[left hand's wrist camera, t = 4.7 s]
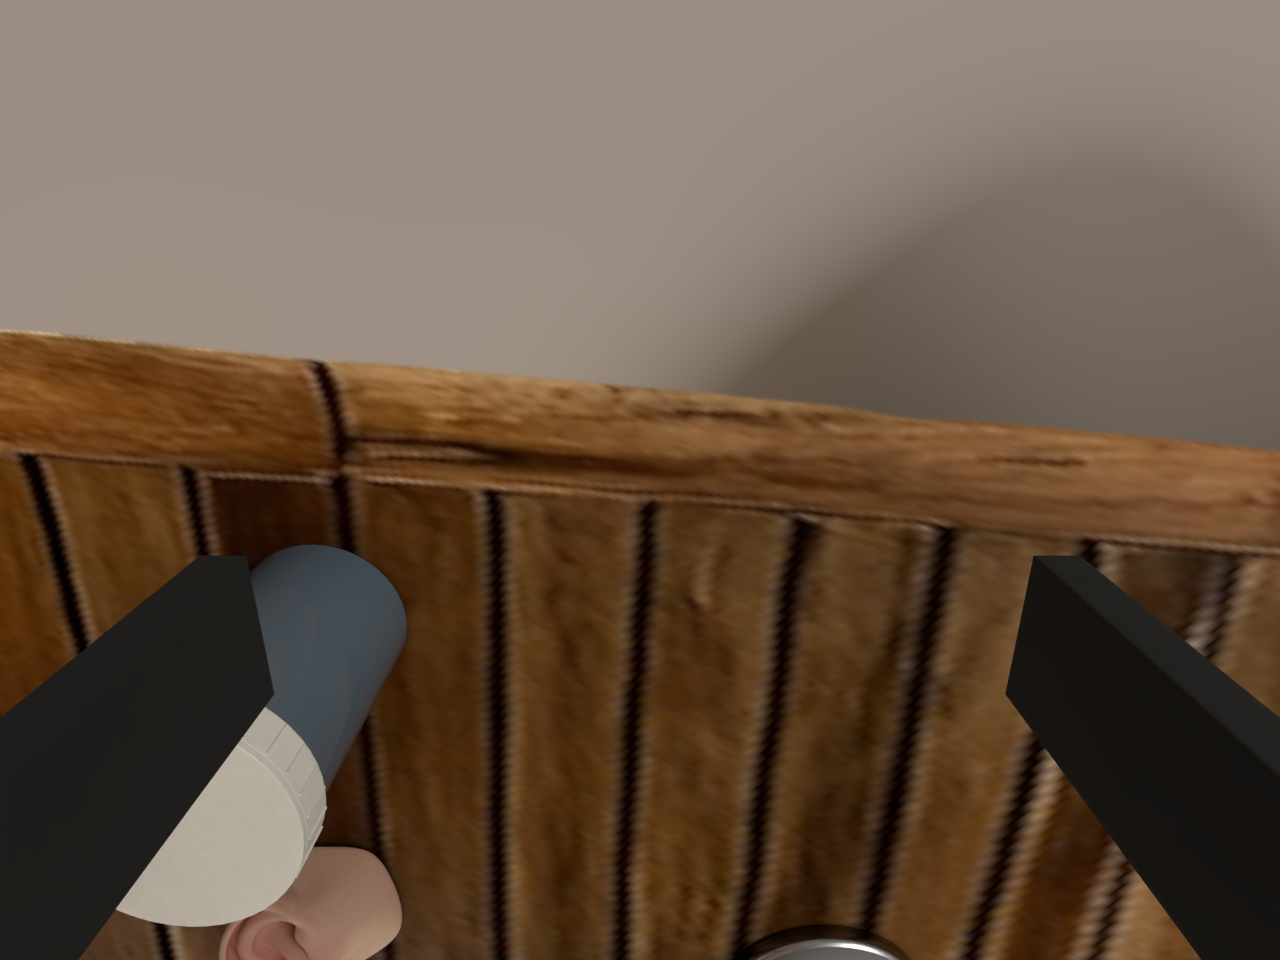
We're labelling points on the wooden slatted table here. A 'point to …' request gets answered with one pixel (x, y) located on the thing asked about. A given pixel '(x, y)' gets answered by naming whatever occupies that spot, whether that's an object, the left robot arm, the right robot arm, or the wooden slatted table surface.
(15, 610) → the wooden slatted table surface
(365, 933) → the anatomical model
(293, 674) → the jar
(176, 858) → the lid
